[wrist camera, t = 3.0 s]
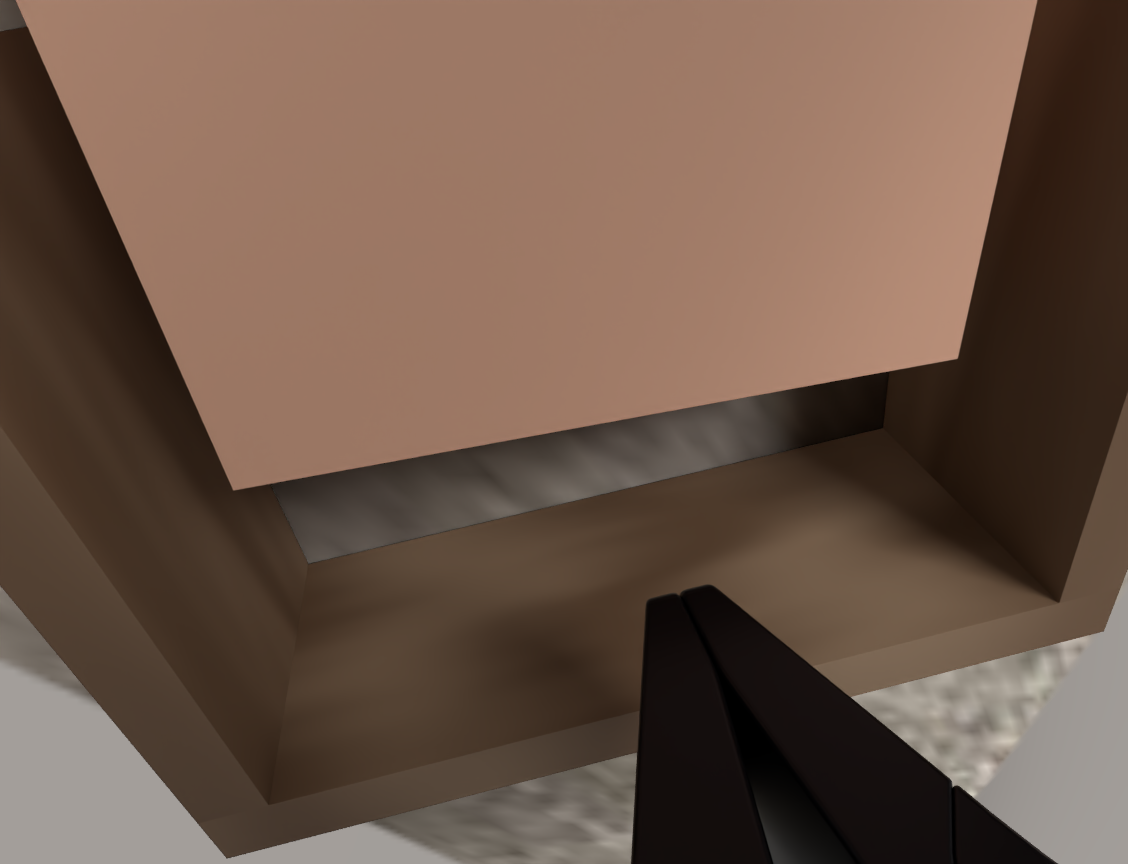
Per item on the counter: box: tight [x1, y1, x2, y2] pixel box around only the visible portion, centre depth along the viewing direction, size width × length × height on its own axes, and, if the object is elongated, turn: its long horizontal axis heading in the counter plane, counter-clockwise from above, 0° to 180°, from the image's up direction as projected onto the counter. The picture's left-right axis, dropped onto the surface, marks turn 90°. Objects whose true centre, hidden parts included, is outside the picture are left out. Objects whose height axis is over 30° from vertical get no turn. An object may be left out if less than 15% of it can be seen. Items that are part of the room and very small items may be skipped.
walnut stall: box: [0, 0, 1128, 858], centre depth 10 cm, size 14×10×5 cm
